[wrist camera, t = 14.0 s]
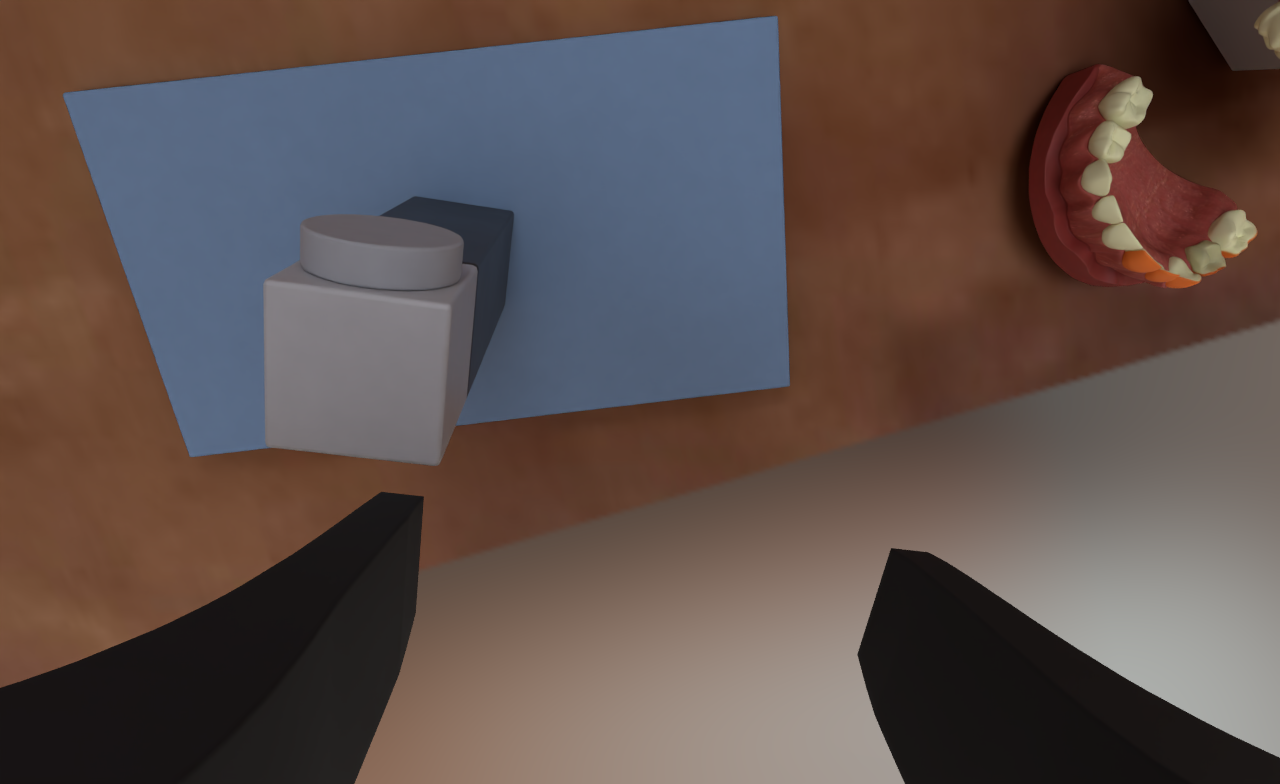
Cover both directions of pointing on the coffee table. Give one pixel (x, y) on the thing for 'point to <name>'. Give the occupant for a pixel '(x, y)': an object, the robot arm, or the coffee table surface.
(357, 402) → the grey toy brick
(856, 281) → the coffee table surface
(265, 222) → the rubber mat
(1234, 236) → the dentures
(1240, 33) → the icon cube
